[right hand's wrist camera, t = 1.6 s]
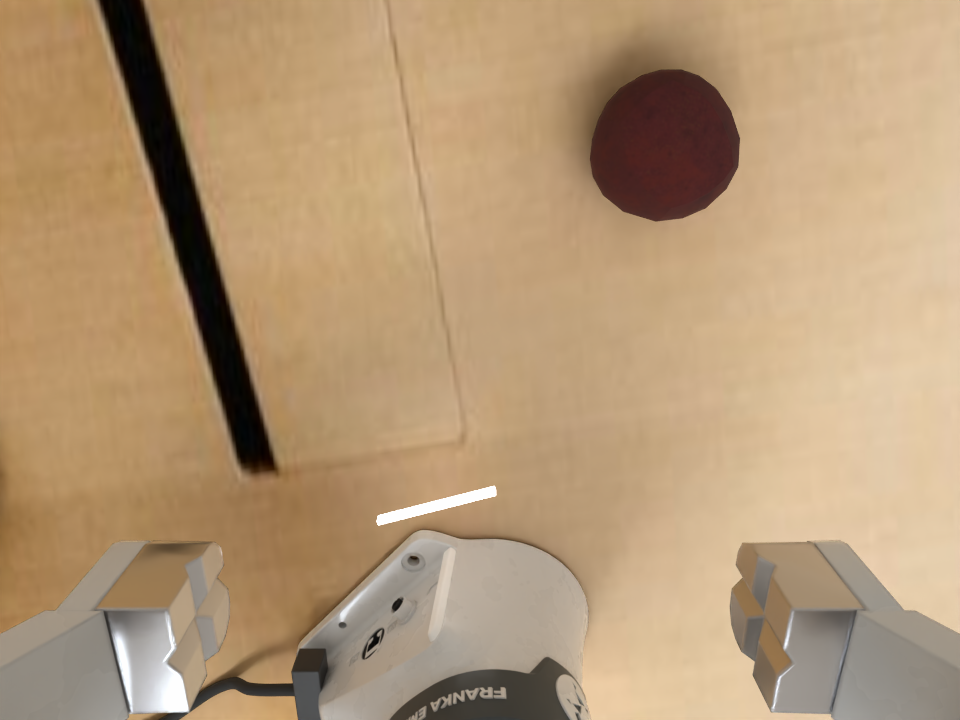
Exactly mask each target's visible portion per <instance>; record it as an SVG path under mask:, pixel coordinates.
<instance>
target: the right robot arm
mask: <svg viewBox="0 0 960 720" xmlns="http://www.w3.org/2000/svg"><path fill="white" fill-rule="evenodd" d="M492 496H496V489H495V486H493V487H489V488H485V489H481V490H477V491H473V492H469V493H465V494H461V495H457V496H453V497H449V498H445V499H441V500H437V501H433V502H430V503H426V504H422V505H418V506H414V507H410V508H406V509H402V510H398V511H394V512H390V513H386V514H382V515H378V519H377V523H378V525H381V524H385V523H389V522H393V521H397V520H401V519H405V518H409V517H413V516H417V515H421V514H425V513H429V512H433V511H437V510H441V509H445V508H449V507H453V506H457V505H461V504H465V503H468V502H472V501H476V500H480V499H484V498H488V497H492ZM410 556H416V557H418V559H411V558H410ZM223 566H224V561H223V556H222V551H221V547H220V546H219V545H218V544H217V543H216V542H194V541H119V542H116V543H113V544H112V545H111V546H110V547H109V548H108V550H107V551H106V552H105V553H104V554H103V555H102V557H101V558H100V559H99V560H98V561H97V562H96V564H95V565H94V566H93V567H92V568H91V569H90V571H89V572H88V573H87V574H86V575H85V576H84V578H83V579H82V580H81V581H80V582H79V583H78V585H77V586H76V587H75V588H74V589H73V590H72V592H71V593H70V594H69V595H68V596H67V597H66V599H65V600H64V601H63V602H62V603H61V604H60V606H59V607H58V608H57V609H56V610H55V611H43V612H41V613H39V614H37V615H35V616H34V617H32V618H30V619H28V620H26V621H24V622H22V623H20V624H18V625H16V626H14V627H12V628H11V629H9V630H7V631H5V632H3V633H1V634H0V720H126V719H128V718H129V715H128V714H146V713H169V714H168V715H166V716H164V717H163V718H161V719H159V720H179V719H181V718H182V717H184V716H185V715H187V714H188V713H189V712H191V711H192V710H194V709H195V708H196V707H198V706H199V705H201V704H202V703H203V702H205V701H206V700H208V699H210V698H211V697H213V696H215V695H217V694H219V693H221V692H223V691H226V690H229V689H236V690H238V691H240V692H241V693H243V694H246V695H252V696H295V701H296V708H297V715H298V720H591V716H590V712H589V709H588V705H587V702H586V698H585V695H584V693H583V680H582V663H583V649H584V642H585V636H586V632H587V627H588V618H589V615H588V605H587V601H586V597H585V594H584V592H583V590H582V588H581V586H580V584H579V582H578V581H577V579H576V578H575V577H574V575H573V574H572V573H571V572H570V571H569V569H568V568H566V567H565V566H564V565H563V564H562V563H561V562H560V561H558V560H557V559H556V558H554V557H553V556H551V555H549V554H548V553H546V552H544V551H542V550H540V549H538V548H535V547H533V546H530V545H527V544H524V543H520V542H516V541H510V540H503V539H459V538H456V537H453V536H450V535H447V534H443V533H440V532H436V531H431V530H419V531H417V532H415V533H413V534H412V535H411V536H409V537H408V538H407V539H406V540H405V541H404V542H403V543H402V544H401V545H400V546H399V547H398V548H397V549H396V550H395V551H394V552H393V553H392V554H391V555H390V556H389V557H388V558H386V559H385V560H384V561H383V562H382V563H381V564H380V565H379V566H378V567H377V568H376V569H375V570H374V571H373V572H372V573H371V574H370V575H369V576H368V577H367V578H366V579H365V580H364V581H362V582H361V583H360V584H359V585H358V586H357V587H356V588H355V589H354V590H353V591H352V592H351V593H350V594H349V595H348V596H347V597H346V598H345V599H344V600H343V601H342V602H341V603H340V604H339V605H337V606H336V607H335V608H334V609H333V610H332V611H331V612H330V613H329V614H328V615H327V616H326V617H325V618H324V619H323V620H322V621H321V622H320V623H319V624H318V625H317V626H316V627H315V628H313V629H312V630H311V631H310V632H309V633H308V634H307V635H306V636H305V637H304V638H303V639H302V641H301V642H300V643H299V645H298V649H297V657H296V660H295V663H294V666H293V669H292V671H291V673H292V680H293V683H292V684H258V683H249V682H246V681H245V680H243V679H241V678H238V677H233V678H229V679H225V680H222V681H220V682H217V683H215V684H213V685H211V686H209V687H207V688H206V689H204V690H202V691H201V692H199V691H200V689H201V687H202V685H203V683H204V681H205V679H206V677H207V670H206V665H205V661H206V660H208V659H209V658H210V657H212V656H213V655H215V654H216V653H217V652H219V650H220V647H221V645H222V643H223V641H224V639H225V636H226V632H227V627H228V623H229V618H230V599H229V592H228V588H227V587H226V586H225V585H224V584H223V583H222V582H221V581H220V580H219V579H218V578H217V577H218V575H219V573H220V572H221V570H222V568H223ZM736 566H737V568H738V570H739V572H740V573H741V575H742V577H743V578H742V579H741V580H740V581H739V582H738V583H737V584H736V585H735V586H734V587H733V588H732V592H731V600H730V615H731V625H732V629H733V632H734V636H735V639H736V641H737V643H738V645H739V648H740V650H741V652H743V653H744V654H745V655H747V656H748V657H750V658H751V659H752V660H754V661H755V665H754V670H753V677H754V679H755V681H756V683H757V685H758V687H759V689H760V691H761V693H762V695H763V697H764V699H765V701H766V703H767V705H768V707H769V709H770V711H771V712H778V713H814V714H831V717H832V718H833V719H834V720H960V634H959V633H957V632H955V631H953V630H951V629H949V628H947V627H946V626H944V625H942V624H940V623H938V622H936V621H934V620H932V619H930V618H928V617H926V616H925V615H923V614H921V613H919V612H917V611H905V610H904V609H903V608H902V607H901V606H900V605H899V603H898V602H897V601H896V600H895V599H894V598H893V596H892V595H891V594H890V593H889V592H888V591H887V589H886V588H885V587H884V586H883V585H882V584H881V582H880V581H879V580H878V579H877V578H876V577H875V575H874V574H873V573H872V572H871V571H870V570H869V568H868V567H867V566H866V565H865V564H864V563H863V561H862V560H861V559H860V558H859V557H858V556H857V554H856V553H855V552H854V551H853V550H852V549H851V547H850V546H849V545H848V544H847V543H844V542H842V541H840V540H826V541H807V542H759V543H742V544H741V546H740V548H739V550H738V555H737V561H736Z"/></svg>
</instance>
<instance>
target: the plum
mask: <svg viewBox="0 0 960 720" xmlns="http://www.w3.org/2000/svg"><path fill="white" fill-rule="evenodd" d="M739 144H740V137H739V134H738V131H737V128H736V125H735V122H734V119H733V116H732V113H731V110H730V109H729V107H728V106H727V104H726V103H725V101H724V100H723V98H722V97H721V95H720V93H719V92H718V91H717V90H716V88H715V87H713V86H712V85H711V84H709V83H708V82H707V81H705V80H704V79H703V78H701V77H700V76H698V75H695V74H692V73H689V72H686V71H683V70H659V71H655V72H652V73H648V74H645V75H642V76H640V77H638V78H637V79H635V80H633V81H632V82H630V83H628V84H626V85H625V86H623V87H621V88H620V89H619V90H618V91H617V92H616V94H615V95H614V96H613V97H612V98H611V99H610V100H609V101H608V103H607V104H606V106H605V108H604V110H603V112H602V114H601V116H600V118H599V119H598V122H597V125H596V129H595V132H594V135H593V138H592V146H591V155H590V162H591V168H592V174H593V178H594V180H595V181H596V183H597V185H598V187H599V189H600V190H601V192H602V194H603V195H604V196H605V197H606V198H607V199H609V200H610V201H611V202H612V203H614V204H615V205H616V206H617V207H618V208H620V209H621V210H622V211H623V212H626V213H630V214H633V215H636V216H640V217H643V218H646V219H650V220H653V221H663V220H672V219H680V218H684V217H686V216H689V215H691V214H693V213H696V212H698V211H700V210H703V209H705V208H706V207H707V206H708V205H710V204H711V203H712V202H713V201H714V200H715V199H716V198H717V197H718V196H719V195H720V194H721V193H723V192H724V191H725V190H726V189H727V187H728V185H729V183H730V181H731V179H732V177H733V176H734V174H735V172H736V170H737V168H738V162H739Z"/></svg>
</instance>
